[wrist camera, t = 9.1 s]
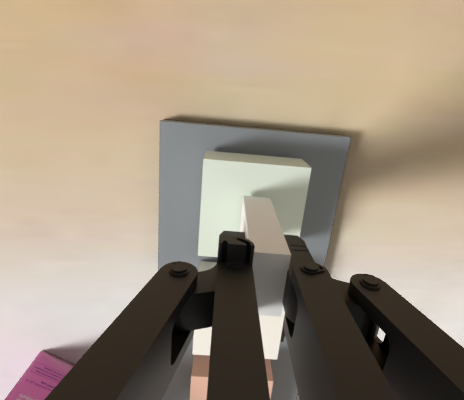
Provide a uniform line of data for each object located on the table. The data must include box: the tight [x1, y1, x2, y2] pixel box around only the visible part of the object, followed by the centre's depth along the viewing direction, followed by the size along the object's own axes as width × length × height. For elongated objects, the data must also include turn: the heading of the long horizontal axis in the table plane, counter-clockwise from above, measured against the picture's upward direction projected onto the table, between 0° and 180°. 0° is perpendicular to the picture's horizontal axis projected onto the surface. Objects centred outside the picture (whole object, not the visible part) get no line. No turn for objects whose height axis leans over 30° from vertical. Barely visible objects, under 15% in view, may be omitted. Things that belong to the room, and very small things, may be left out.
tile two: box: [192, 261, 285, 360], centre depth 22 cm, size 6×6×3 cm
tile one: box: [198, 151, 312, 257], centre depth 19 cm, size 6×6×3 cm
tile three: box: [190, 355, 273, 400], centre depth 25 cm, size 6×6×3 cm
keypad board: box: [158, 120, 351, 400], centre depth 24 cm, size 25×12×1 cm, turn 175°
